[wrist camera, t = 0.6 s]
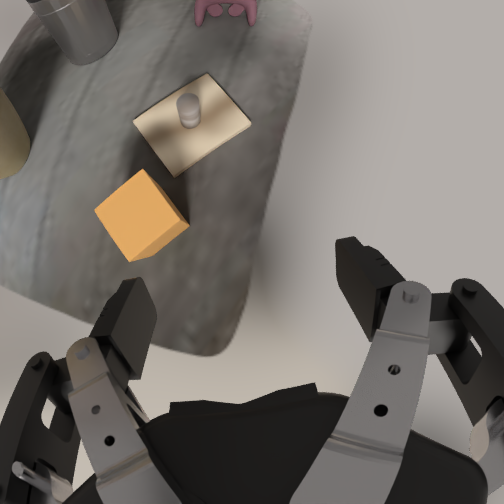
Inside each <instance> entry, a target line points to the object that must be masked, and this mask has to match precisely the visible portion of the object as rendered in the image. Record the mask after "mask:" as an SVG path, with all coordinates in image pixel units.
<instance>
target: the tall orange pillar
mask: <svg viewBox="0 0 504 504" xmlns="http://www.w3.org/2000/svg"><path fill="white" fill-rule="evenodd" d="M94 211H95V213H96V214H97V216H98V217H99V219H100V220H101V222H102V223H103V225H104V226H105V228H106V229H107V231H108V232H109V234H110V235H111V237H112V238H113V240H114V241H115V243H116V244H117V245H118V247H119V248H120V250H121V251H122V253H123V254H124V255H125V257H126V258H127V260H128V261H129V262H131V261H135V260H138V259H142V258H146V257H150V256H153V255H154V254H155V253H156V252H158V251H159V250H160V249H161V248H163V247H164V246H165V245H166V244H168V243H169V242H170V241H171V240H173V239H174V238H175V237H176V236H178V235H179V234H180V233H181V232H183V231H184V230H185V229H186V228H188V227H189V226H190V225H189V224H188V223H187V221H186V220H185V219H184V217H183V216H182V215H181V213H180V212H179V211H178V209H177V208H176V207H175V205H174V204H173V203H172V201H171V200H170V199H169V197H168V196H167V194H166V193H165V192H164V190H163V189H162V188H161V187H160V186H159V185H158V184H157V183H156V182H155V181H154V180H153V179H152V177H151V176H150V175H149V174H148V173H147V172H146V171H145V170H144V169H142V170H140V171H139V172H138V173H137V174H135V175H134V176H133V177H132V178H130V179H129V180H128V181H127V182H126V183H124V184H123V185H122V186H121V187H120V188H118V189H117V190H116V191H115V192H114V193H113V194H112V195H110V196H109V197H108V198H107V199H106V200H105V201H104V202H103V203H101V204H100V205H99V206H98V207H97V208H96V209H95V210H94Z"/></svg>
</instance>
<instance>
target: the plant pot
mask: <svg viewBox="0 0 504 504" xmlns="http://www.w3.org/2000/svg"><path fill="white" fill-rule="evenodd" d="M29 152H30V138H29V136H28V133H27V131H26V129H25V127H24V125H23V123H22V121H21V119H20V117H19V115H18V114H17V112H16V110H15V108H14V107H13V105H12V104H11V102H10V100H9V99H8V98H7V96H6V95H5V93H4V92H3V90H2V89H1V88H0V179H3V178H6V177H9V176H12V175H14V174H16V173H17V172H19V171H20V169H21V168H22V167H23V166H24V164H25V162H26V160H27V158H28V155H29Z"/></svg>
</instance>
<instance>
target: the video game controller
mask: <svg viewBox="0 0 504 504" xmlns="http://www.w3.org/2000/svg"><path fill="white" fill-rule="evenodd" d="M222 3H231V4H232V5H231V6H230V7H229V10H228V12H229V14H230V15H231V16H239V15H240V14H241V13H242V12H243V11H244V10H245V11H246V13H247V19H248V23H249V25H250V26H253V25H254V24H255V21H256V15H257V2H256V0H196V3H195V9H194V14H195V23H196V25H197V26H198V27H199V26H201V24H202V23H203V19H204V15H205V11H206V10H207V11H208V12H209V14H210V15H211V16H214V17H216V16H219V15H221V14H222V12H223V9H222V6H221V5H220V4H222Z"/></svg>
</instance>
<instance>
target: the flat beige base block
mask: <svg viewBox="0 0 504 504" xmlns="http://www.w3.org/2000/svg"><path fill="white" fill-rule="evenodd" d="M133 123H134V124H135V125H136V127H137V128H138V130H139V131H140V132H141V134H142V135H143V136H144V138H145V139H146V140H147V142H148V143H149V145H150V146H151V147H152V149H153V150H154V151H155V153H156V154H157V155H158V157H159V158H160V159H161V161H162V162H163V163H164V165H165V166H166V168H167V169H168V170H169V172H170V173H171V174H172V176H173V177H174V178H176V177H177V176H178V175H180V174H181V173H182V172H184V171H185V170H186V169H188V168H189V167H190V166H192V165H193V164H195V163H196V162H197V161H199V160H200V159H202V158H203V157H204V156H206V155H207V154H209V153H210V152H212V151H213V150H215V149H216V148H217V147H219V146H220V145H222V144H223V143H225V142H226V141H228V140H229V139H231V138H232V137H234V136H236V135H237V134H239V133H240V132H242V131H243V130H245V129H247V128H248V127H250V126H251V122H250V121H249V120H248V118H247V117H246V116H245V115H244V114H243V113H242V111H241V110H240V109H239V108H238V107H237V106H236V104H235V103H234V102H233V101H232V100H231V99H230V98H229V97H228V95H227V94H226V93H225V92H224V91H223V90H222V89H221V88H220V87H219V85H218V84H217V83H216V82H215V81H214V80H213V79H212V78H211V77H210V76H209V75H208V74H205V75H203V76H202V77H200V78H198V79H196V80H195V81H193V82H191V83H189V84H188V85H186V86H184V87H183V88H181V89H179V90H178V91H176V92H175V93H173V94H171V95H170V96H168V97H167V98H165V99H164V100H162V101H161V102H159V103H158V104H156V105H155V106H153V107H152V108H150V109H149V110H147V111H146V112H145V113H143V114H142V115H140V116H139V117H138V118H136V119H135V120H134V121H133Z"/></svg>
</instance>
